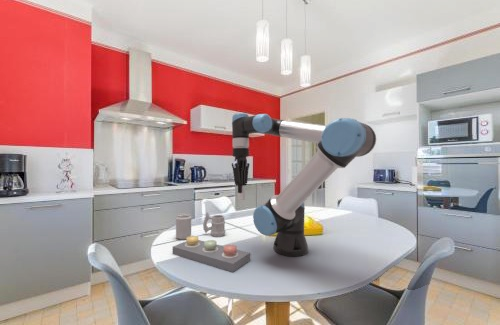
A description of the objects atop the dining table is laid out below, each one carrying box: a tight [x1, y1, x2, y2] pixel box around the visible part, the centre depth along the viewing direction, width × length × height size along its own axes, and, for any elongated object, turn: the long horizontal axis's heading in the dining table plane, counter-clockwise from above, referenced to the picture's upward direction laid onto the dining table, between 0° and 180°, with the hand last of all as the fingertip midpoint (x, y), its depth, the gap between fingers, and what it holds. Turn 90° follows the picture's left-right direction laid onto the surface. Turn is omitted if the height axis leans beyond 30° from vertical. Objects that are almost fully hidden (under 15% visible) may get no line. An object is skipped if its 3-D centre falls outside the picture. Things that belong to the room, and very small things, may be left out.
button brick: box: [223, 244, 238, 255], centre depth 92 cm, size 5×5×2 cm
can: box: [175, 212, 192, 241], centre depth 120 cm, size 8×8×12 cm
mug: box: [202, 211, 226, 238], centre depth 125 cm, size 8×12×12 cm, turn 91°
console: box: [172, 239, 251, 273], centre depth 97 cm, size 31×12×3 cm, turn 59°
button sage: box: [204, 239, 218, 249], centre depth 97 cm, size 5×5×2 cm
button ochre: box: [185, 235, 199, 245], centre depth 102 cm, size 5×5×2 cm
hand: (241, 199), depth 107 cm, fingers closed
